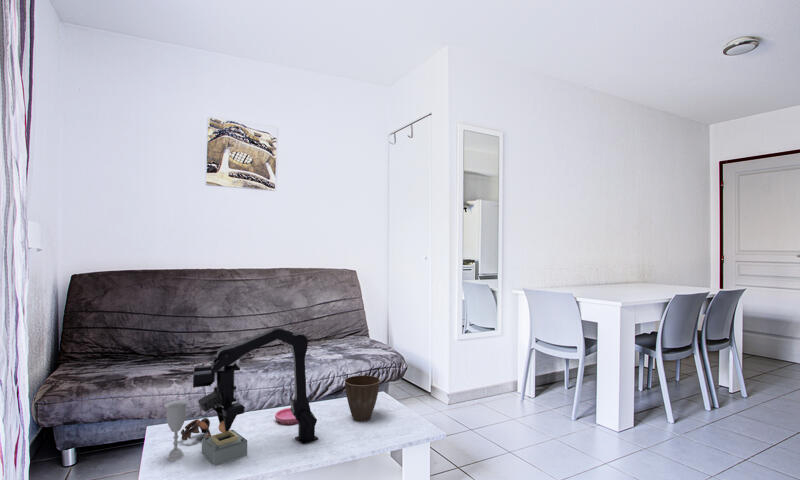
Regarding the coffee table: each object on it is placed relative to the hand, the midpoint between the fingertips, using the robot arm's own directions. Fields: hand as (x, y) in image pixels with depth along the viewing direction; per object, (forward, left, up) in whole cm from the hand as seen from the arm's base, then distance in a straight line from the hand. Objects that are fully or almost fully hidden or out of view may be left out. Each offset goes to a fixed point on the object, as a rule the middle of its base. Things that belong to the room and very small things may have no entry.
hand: (224, 429), depth 148 cm
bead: (0, 0, -1) cm, 1 cm away
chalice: (+9, +13, -9) cm, 18 cm away
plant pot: (-7, -55, -9) cm, 56 cm away
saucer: (+12, -32, -9) cm, 35 cm away
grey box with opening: (0, 0, -8) cm, 8 cm away
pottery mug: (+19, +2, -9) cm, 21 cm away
